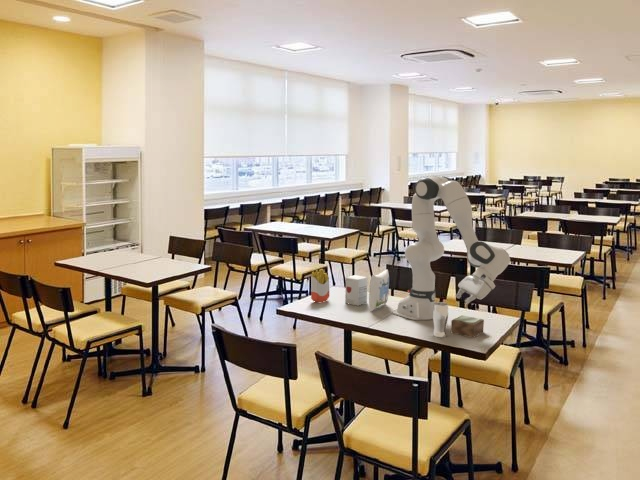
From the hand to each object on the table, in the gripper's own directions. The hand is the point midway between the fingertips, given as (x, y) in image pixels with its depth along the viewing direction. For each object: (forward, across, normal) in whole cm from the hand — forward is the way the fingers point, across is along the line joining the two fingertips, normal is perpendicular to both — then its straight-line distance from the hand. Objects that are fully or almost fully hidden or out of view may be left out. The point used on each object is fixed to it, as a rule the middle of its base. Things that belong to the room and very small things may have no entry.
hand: (461, 299), depth 263 cm
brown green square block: (+8, -3, +15) cm, 17 cm away
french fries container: (+48, -70, -25) cm, 88 cm away
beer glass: (+19, 0, +5) cm, 19 cm away
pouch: (+28, -52, -4) cm, 59 cm away
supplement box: (+35, -63, -11) cm, 73 cm away
